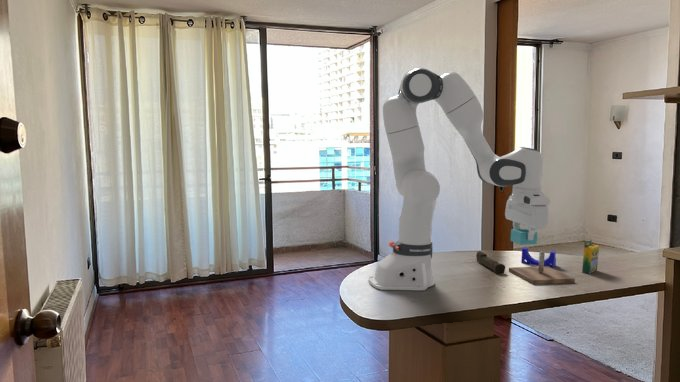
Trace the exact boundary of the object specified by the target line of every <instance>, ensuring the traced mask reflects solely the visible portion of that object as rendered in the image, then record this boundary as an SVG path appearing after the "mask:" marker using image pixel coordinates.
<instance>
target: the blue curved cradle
mask: <svg viewBox="0 0 680 382" xmlns="http://www.w3.org/2000/svg"><path fill="white" fill-rule="evenodd" d="M556 252H557V251H554V250H552V251H550V253H549V256H548V257H547V258H544V266H548V267H551V268H553V269H555V267H556V266H557V258H556V255H557V253H556ZM520 261H521V264H524V265H532V266H536V267H538V265H539V259H535V258H534V257H532V256H531V254H530V252H529V247H525V246H524V247H523V248H521V260H520Z"/></svg>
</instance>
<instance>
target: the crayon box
mask: <svg viewBox="0 0 680 382" xmlns="http://www.w3.org/2000/svg"><path fill="white" fill-rule="evenodd" d="M599 252H600V245H597V244H596V245H595V244H593V240H592V239H591V240H587V241H584V246H583V255H582V256H583V257H582V258H583V259H582V267H581V268H582V269H581V273H583V274H589V275H590V274H592V273H595V272H596V271H597V270H598V264H599V263H598V262H599Z"/></svg>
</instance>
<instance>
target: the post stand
mask: <svg viewBox="0 0 680 382" xmlns="http://www.w3.org/2000/svg"><path fill="white" fill-rule="evenodd" d="M538 254H539V255H538V261H539V265H538V266H520V267H508V272H509V273H511V274H513V275H514V276H516V277H518V278H520V279H521V280H523V281H525V282H528V284H531V285H533V286H534V285H553V284H575V282H576V279H575V277H572V276H570V275H568V274H566V273H564V272H562V271H559V270H557V269H555V268H551V267H548V266H544V260H545V252H544V251H543V250H541V251H539V253H538Z"/></svg>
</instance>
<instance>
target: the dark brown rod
mask: <svg viewBox="0 0 680 382" xmlns="http://www.w3.org/2000/svg"><path fill="white" fill-rule="evenodd" d="M475 258H476V261H477V263H478V264H479V265H481V264H483V265H482V266H485V267H487V268H488V269H490V270H492V271H493V272H494V273H495V274H496V275H500V274H501V275H502V274H504V273H505V270H506V266H505V264H504V263H499V261H496V260H494V259H491V258H490V257H489V256H487V253H485V252H483V251H477V252H476V257H475Z"/></svg>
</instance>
